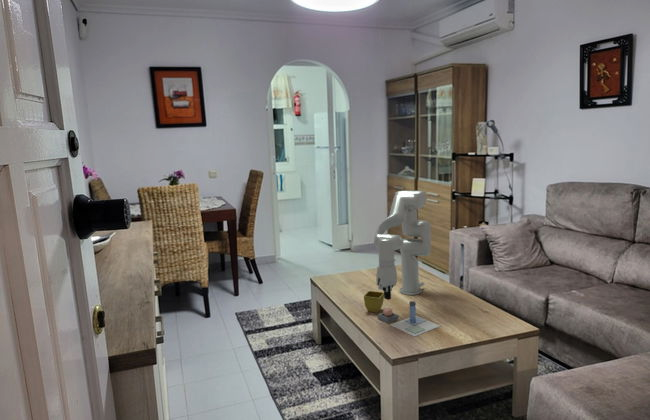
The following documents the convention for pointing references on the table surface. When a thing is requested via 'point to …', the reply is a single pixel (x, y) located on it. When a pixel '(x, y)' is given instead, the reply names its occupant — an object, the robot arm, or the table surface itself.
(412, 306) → the cylinder
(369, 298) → the flower pot
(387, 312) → the button
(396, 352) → the table surface
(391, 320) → the button collar
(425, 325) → the sheet
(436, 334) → the table surface
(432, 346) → the table surface
